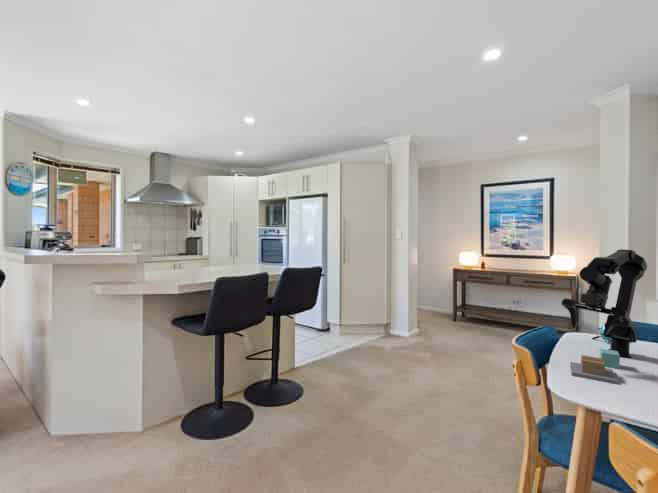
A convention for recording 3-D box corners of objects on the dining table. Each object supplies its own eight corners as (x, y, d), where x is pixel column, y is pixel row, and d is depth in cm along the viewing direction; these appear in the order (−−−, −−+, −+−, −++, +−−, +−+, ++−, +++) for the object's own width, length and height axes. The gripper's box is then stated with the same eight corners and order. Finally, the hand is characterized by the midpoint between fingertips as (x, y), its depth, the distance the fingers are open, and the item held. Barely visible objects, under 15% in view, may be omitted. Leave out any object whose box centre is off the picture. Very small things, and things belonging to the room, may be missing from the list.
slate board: (570, 364, 125) (570, 361, 125) (612, 372, 119) (612, 369, 119) (571, 375, 116) (571, 372, 116) (617, 384, 109) (617, 381, 109)
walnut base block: (580, 365, 121) (581, 354, 121) (602, 369, 118) (602, 358, 118) (582, 371, 116) (582, 360, 116) (604, 376, 113) (605, 364, 113)
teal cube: (599, 361, 128) (600, 348, 128) (616, 364, 126) (617, 351, 125) (601, 366, 124) (601, 352, 124) (619, 369, 121) (619, 355, 121)
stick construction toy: (609, 340, 145) (600, 323, 150) (592, 346, 150) (583, 329, 154) (621, 344, 151) (611, 327, 156) (604, 349, 156) (595, 332, 160)
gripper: (561, 279, 126) (550, 319, 124) (626, 288, 111) (615, 334, 108) (571, 288, 132) (561, 326, 130) (634, 298, 117) (624, 342, 115)
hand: (588, 331), depth 121 cm, fingers open, 9 cm apart
